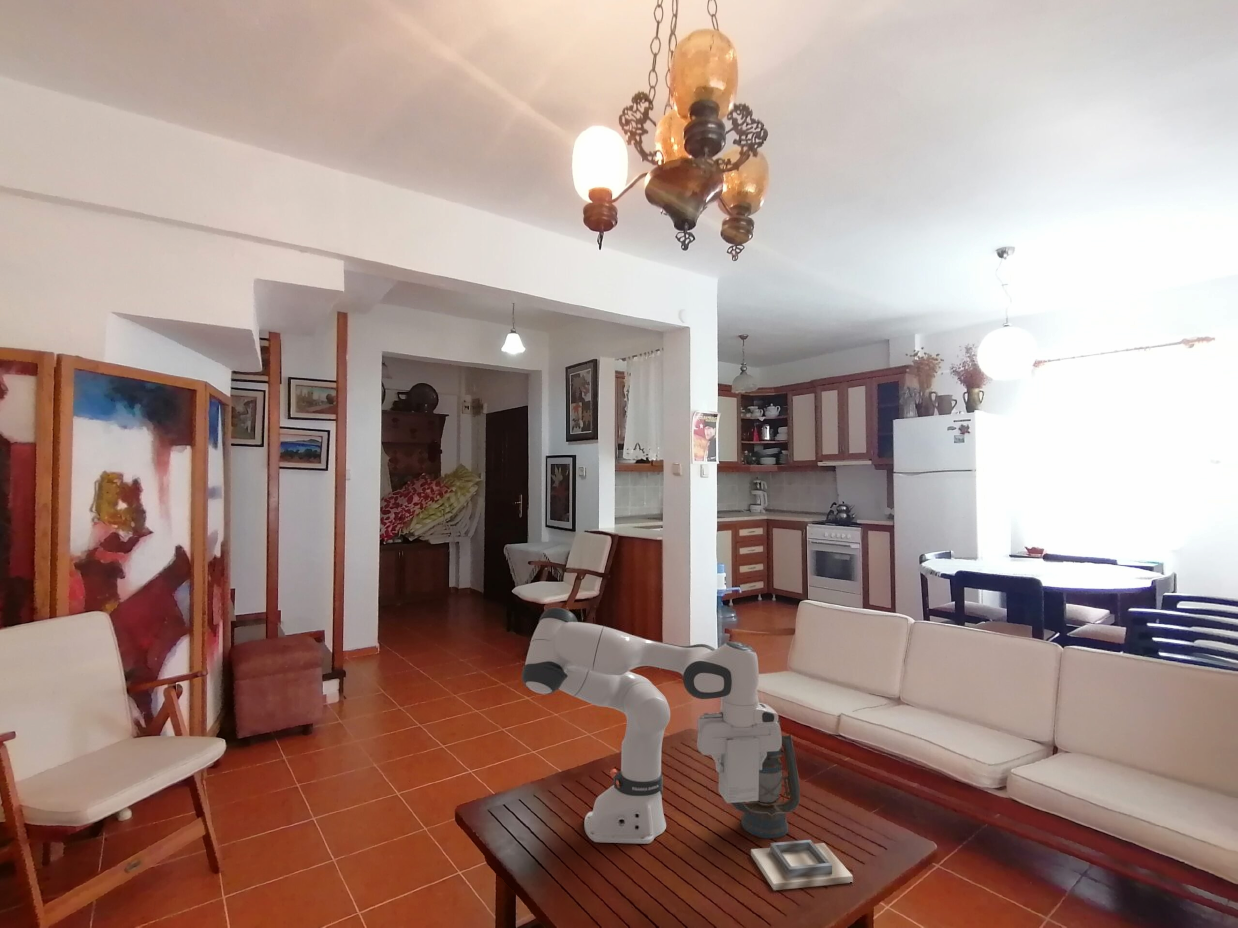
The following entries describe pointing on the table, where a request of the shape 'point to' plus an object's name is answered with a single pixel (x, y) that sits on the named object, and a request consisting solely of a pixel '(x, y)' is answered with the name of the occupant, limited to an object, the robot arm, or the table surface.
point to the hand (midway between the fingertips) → (739, 770)
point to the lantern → (772, 795)
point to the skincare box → (740, 770)
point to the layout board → (800, 865)
